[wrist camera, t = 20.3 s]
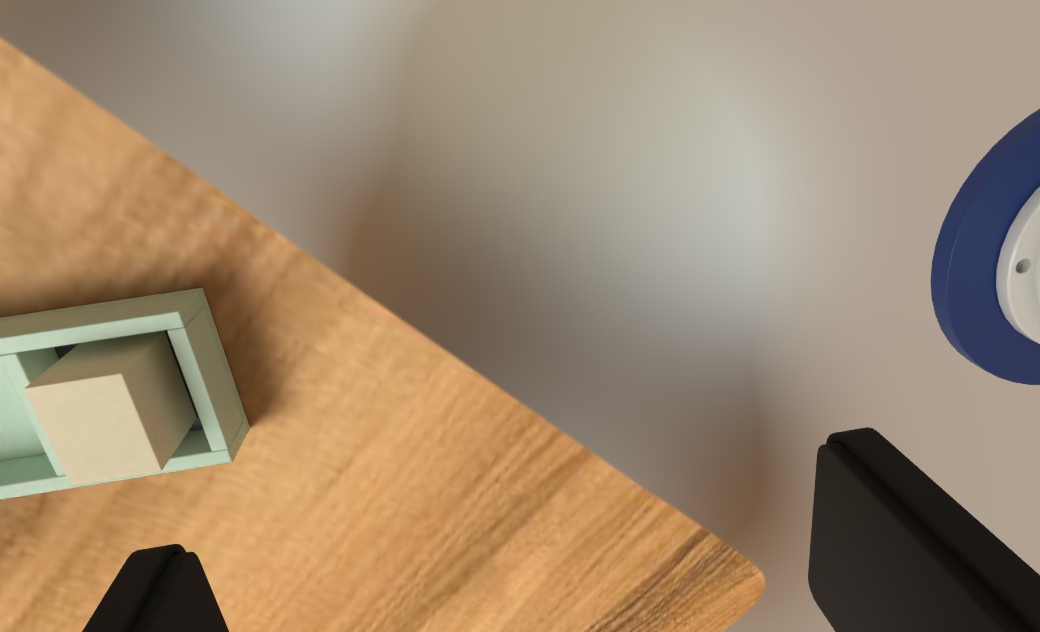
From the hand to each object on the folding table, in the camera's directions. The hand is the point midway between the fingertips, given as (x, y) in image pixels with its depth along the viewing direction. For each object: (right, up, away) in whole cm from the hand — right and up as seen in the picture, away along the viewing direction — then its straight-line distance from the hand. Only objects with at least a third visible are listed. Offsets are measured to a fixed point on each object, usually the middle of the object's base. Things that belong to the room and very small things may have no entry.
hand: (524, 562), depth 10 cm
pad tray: (-23, 0, +23) cm, 32 cm away
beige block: (-19, 0, +22) cm, 29 cm away
